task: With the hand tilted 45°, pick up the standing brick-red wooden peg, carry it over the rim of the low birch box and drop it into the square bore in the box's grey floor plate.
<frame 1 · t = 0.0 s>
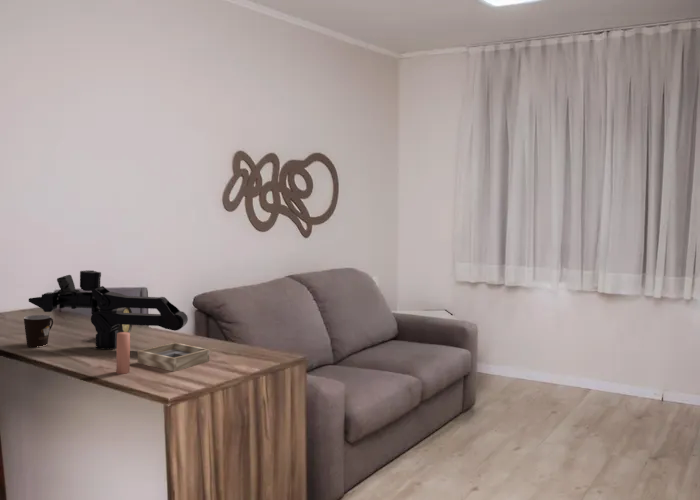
hand: (35, 297, 218), 17 cm above the table, tool horizontal, fingers open, 9 cm apart
peg: (122, 372, 190), on the table
box: (173, 362, 204), on the table
coffee mug: (41, 345, 219), on the table
alarm clock: (120, 338, 236), on the table
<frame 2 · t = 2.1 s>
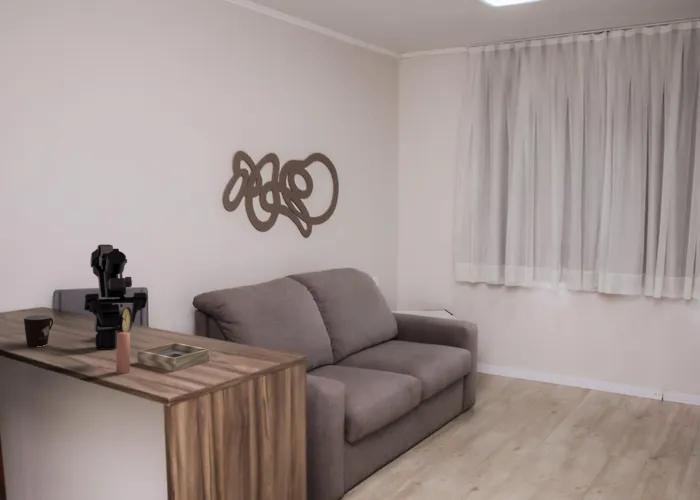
hand: (118, 322, 196), 14 cm above the table, tool tilted 45°, fingers open, 9 cm apart
nothing on the table moved.
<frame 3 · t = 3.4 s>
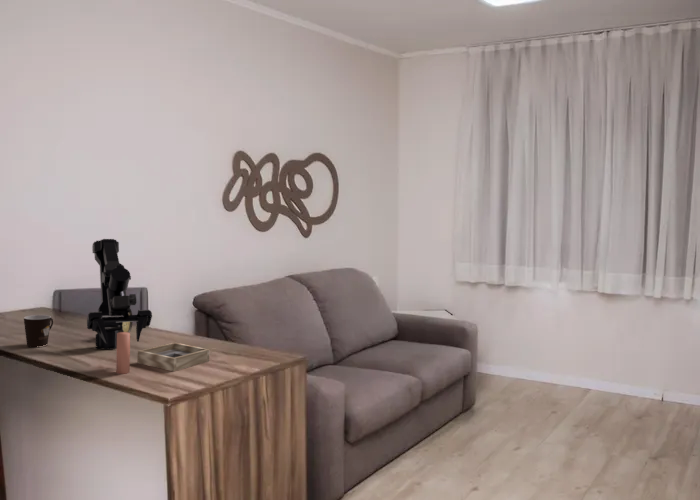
hand: (122, 341, 191), 9 cm above the table, tool tilted 45°, fingers open, 9 cm apart
nothing on the table moved.
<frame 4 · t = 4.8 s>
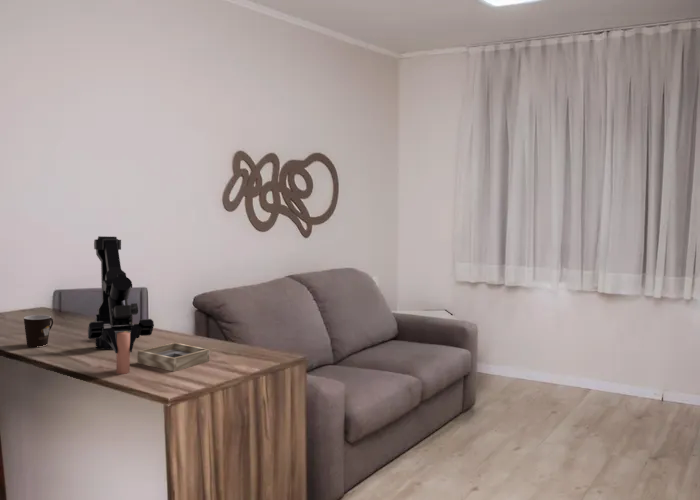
hand: (123, 352, 188), 7 cm above the table, tool tilted 45°, fingers closed on peg, 4 cm apart
peg: (122, 372, 190), on the table, touching gripper
everything else where it was.
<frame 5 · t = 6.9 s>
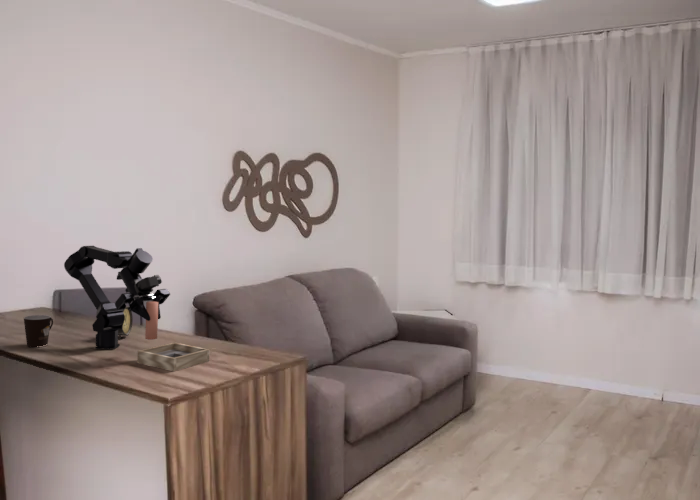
hand: (154, 319, 205), 13 cm above the table, tool tilted 45°, fingers closed on peg, 4 cm apart
peg: (151, 338, 207), point 7 cm above the table, touching gripper
everything else where it was.
when the fingers open (10 cm above the table, at t = 9.3 s): peg drops 4 cm, resting in box.
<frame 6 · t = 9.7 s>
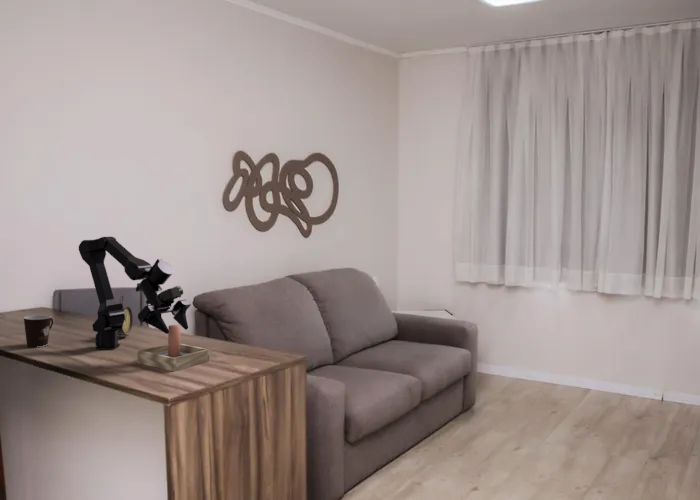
hand: (177, 330, 202), 11 cm above the table, tool tilted 45°, fingers open, 8 cm apart
peg: (173, 362, 204), resting in box
everything else where it was.
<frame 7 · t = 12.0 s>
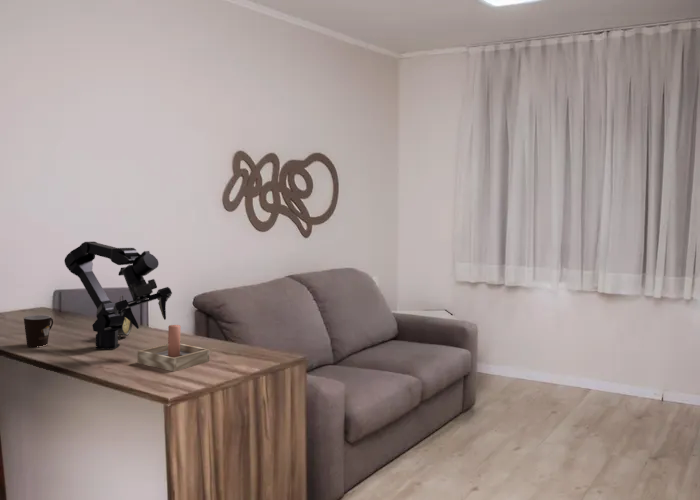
hand: (151, 323, 208), 11 cm above the table, tool tilted 30°, fingers open, 9 cm apart
nothing on the table moved.
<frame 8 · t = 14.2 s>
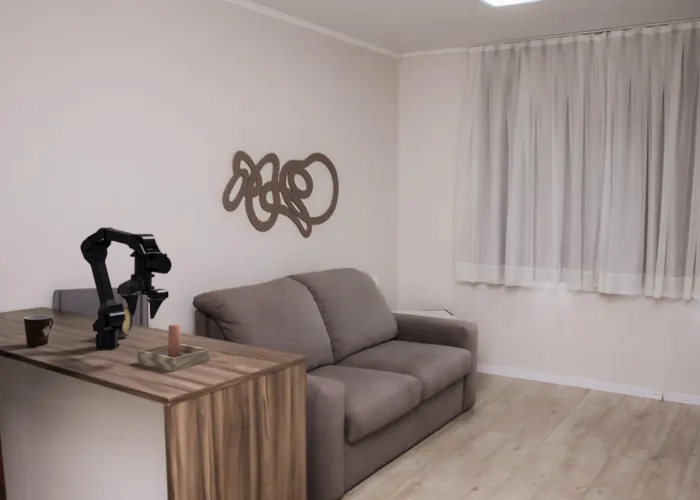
hand: (142, 317, 210), 13 cm above the table, tool pointing down, fingers open, 9 cm apart
nothing on the table moved.
at the end: peg 0.0 cm off-centre on the box, point 0.0 cm above the box's base; peg tilted 0°; the gripper is holding nothing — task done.
